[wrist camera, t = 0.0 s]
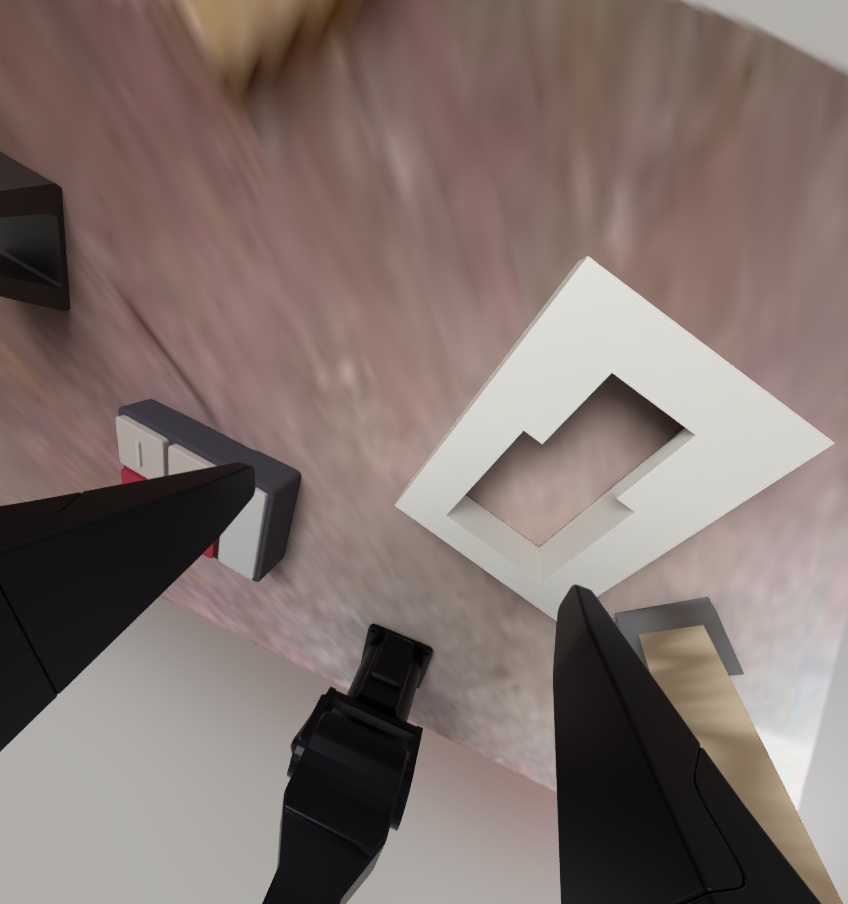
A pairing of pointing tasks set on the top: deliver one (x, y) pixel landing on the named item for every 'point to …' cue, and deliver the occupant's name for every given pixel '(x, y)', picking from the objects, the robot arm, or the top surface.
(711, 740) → the keyhole post
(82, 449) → the top surface
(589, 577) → the keyhole plate
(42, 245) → the phone stand
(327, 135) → the top surface
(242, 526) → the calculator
